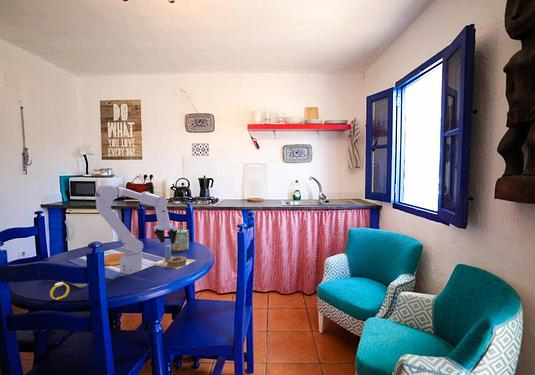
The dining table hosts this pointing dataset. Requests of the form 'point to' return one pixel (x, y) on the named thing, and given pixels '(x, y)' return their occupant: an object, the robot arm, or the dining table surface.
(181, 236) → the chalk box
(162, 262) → the board
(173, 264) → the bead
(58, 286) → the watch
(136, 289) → the dining table surface
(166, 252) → the peg
